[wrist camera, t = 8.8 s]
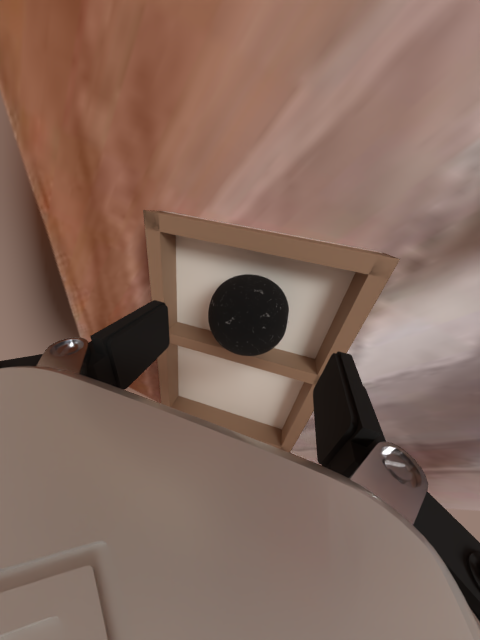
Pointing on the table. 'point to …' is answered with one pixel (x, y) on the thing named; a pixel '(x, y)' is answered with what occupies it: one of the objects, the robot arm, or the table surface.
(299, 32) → the table surface
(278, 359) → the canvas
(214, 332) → the billiard ball
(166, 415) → the robot arm
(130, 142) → the table surface
